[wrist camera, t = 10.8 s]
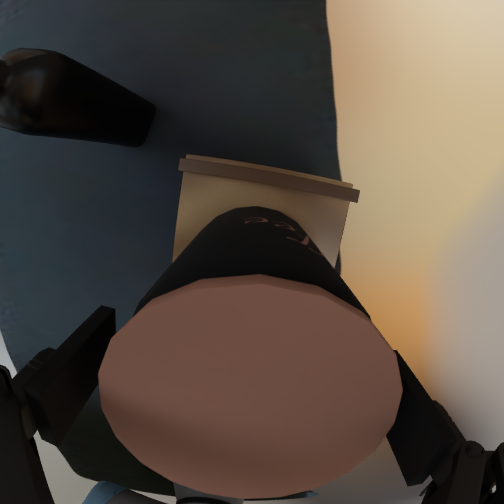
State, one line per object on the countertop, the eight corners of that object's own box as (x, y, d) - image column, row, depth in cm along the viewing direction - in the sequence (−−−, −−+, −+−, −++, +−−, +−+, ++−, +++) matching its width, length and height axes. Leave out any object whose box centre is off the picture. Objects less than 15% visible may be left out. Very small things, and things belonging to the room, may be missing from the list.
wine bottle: (142, 149, 34) (-97, 138, 5) (104, 137, 33) (-121, 124, 4) (159, 105, 32) (-48, -1, 3) (120, 95, 32) (-86, 17, 3)
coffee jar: (336, 284, 27) (429, 434, 9) (235, 341, 28) (217, 515, 11) (273, 179, 24) (318, 199, 7) (167, 248, 26) (45, 371, 9)
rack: (276, 411, 43) (280, 472, 31) (172, 395, 43) (153, 453, 31) (335, 181, 34) (373, 188, 23) (196, 157, 34) (166, 151, 22)
